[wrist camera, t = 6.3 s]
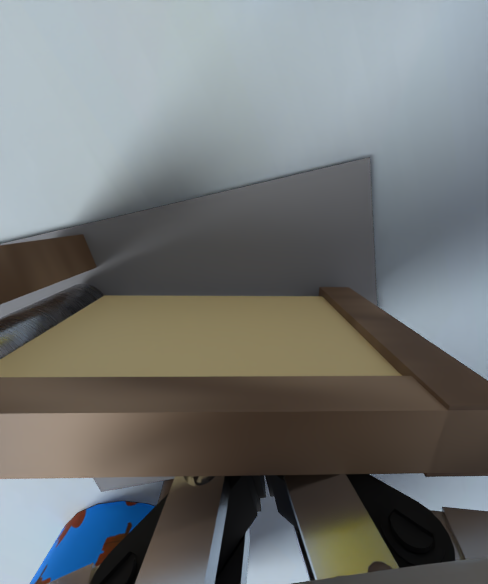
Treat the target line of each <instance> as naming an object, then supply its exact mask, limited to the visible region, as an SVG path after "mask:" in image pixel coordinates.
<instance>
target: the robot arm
mask: <svg viewBox="0 0 488 584" xmlns="http://www.w3.org/2000/svg"><path fill="white" fill-rule="evenodd" d="M265 477H266V480H267V484H268V488H269V492H270V496H274V497H275V501H276V505H277V509H278V512H279V513H280V514H281V515H282V516H283V517H285V518H286V519H287V520H288V521H289V522H290V523H291V524H292V525H293V528H294V532H295V535H296V538H297V542H298V545H299V548H300V552H301V555H302V558H303V562H304V565H305V568H306V572H307V575H308V578H309V581H306V582H299V583H293V584H488V511H478V510H468V509H458V508H448V507H442V512H440V511H431V510H429V509H427V508H426V507H424V506H423V505H421V504H420V503H419V502H417V501H415V500H413V499H412V498H410V497H408V496H406V495H405V494H403V493H401V492H399V491H398V490H396V489H394V488H392V487H390V486H389V485H387V484H385V483H383V482H382V481H380V480H378V479H376V478H374V477H373V476H371V475H369V474H325V475H265ZM265 497H266V492H265V481H264V475H251V476H177V477H175V478H174V481H173V483H172V486H171V489H170V491H169V493H168V494H167V495H166V496H165V497H164V498H163V499H162V500H161V501H160V502H159V503H158V504H157V505H156V506H155V507H154V508H153V509H152V510H151V511H150V512H149V513H148V514H147V515H146V516H145V517H144V518H143V519H142V520H141V521H140V522H139V523H138V524H137V525H136V526H135V527H134V529H133V530H132V531H131V532H130V533H129V534H128V535H127V536H126V537H125V538H124V539H123V540H122V541H121V542H120V543H119V544H118V545H117V546H116V547H115V548H114V549H113V550H112V551H111V552H110V553H109V554H108V555H107V557H106V558H105V559H104V560H103V561H102V563H101V564H100V565H98V566H95V565H94V563H91V564H89V565H87V566H85V567H82V568H80V569H78V570H76V571H73V572H71V573H69V574H67V575H65V576H62V577H60V578H58V579H56V580H53V581H51V582H49V583H47V584H246V583H247V570H248V558H249V546H250V525H251V524H252V522H253V521H254V519H255V518H256V516H257V512H259V511H261V504H260V498H265Z"/></svg>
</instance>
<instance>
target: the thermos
mask: <svg viewBox="0 0 488 584" xmlns="http://www.w3.org/2000/svg"><path fill="white" fill-rule="evenodd" d="M154 507H155V506H152V505H150V504H144V503H135V502H126V501H119V502H111V503H104V504H97V505H95V506H92V507H90V508H88V509H86V510H83V511H81V512H79V513H77V514H76V515H75V516H74V517H73V518H72V519H71V520H70V521H69V522H68V523H67V524H66V525H65V527H64V528H63V530H62V531H61V533H60V535H59V536H58V538H57V540H56V541H55V543H54V545H53V546H52V548H51V550H50V551H49V553H48V554H47V556H46V558H45V559H44V561H43V563H42V564H41V566H40V568H39V569H38V571H37V573H36V574H35V576H34V577H33V579H32V581H31V582H30V584H47V583H49V582H51V581H53V580H56V579H58V578H60V577H62V576H65V575H67V574H69V573H71V572H73V571H76V570H78V569H80V568H82V567H85V566H87V565H89V564H91V563H94V565H95V566H98V565H100V564H101V563H102V561H103V560H104V559H105V558H106V557H107V555H108V554H109V553H110V552H111V551H112V550H113V549H114V548H115V547H116V546H117V545H118V544H119V543H120V542H121V541H122V540H123V539H124V538H125V537H126V536H127V535H128V534H129V533H130V532H131V531H132V530H133V529H134V527H135V526H136V525H137V524H138V523H139V522H140V521H141V520H142V519H143V518H144V517H145V516H146V515H147V514H148V513H149V512H150V511H151V510H152V509H153V508H154Z"/></svg>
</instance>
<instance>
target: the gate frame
mask: <svg viewBox="0 0 488 584" xmlns="http://www.w3.org/2000/svg"><path fill="white" fill-rule="evenodd" d="M77 284H88V285H92V286H94V287H96V288H97V289H99V290H100V291H101V292H102V293H103V294H104V295H117V296H319V287H349V288H351V289H352V290H354V291H355V292H357V293H358V294H360V295H361V296H363V297H364V298H366V299H367V300H369V301H370V302H371V303H373V304H374V305H376V306H377V292H376V272H375V251H374V231H373V211H372V191H371V170H370V157H368V158H364V159H360V160H355V161H351V162H347V163H343V164H338V165H334V166H330V167H325V168H321V169H317V170H313V171H308V172H304V173H300V174H296V175H291V176H287V177H283V178H279V179H274V180H270V181H266V182H262V183H257V184H253V185H249V186H245V187H240V188H236V189H232V190H228V191H223V192H219V193H215V194H211V195H206V196H202V197H198V198H193V199H189V200H185V201H181V202H176V203H172V204H168V205H164V206H159V207H155V208H151V209H147V210H142V211H138V212H134V213H130V214H125V215H121V216H117V217H113V218H108V219H104V220H100V221H96V222H91V223H87V224H83V225H79V226H74V227H70V228H66V229H61V230H57V231H53V232H49V233H44V234H40V235H36V236H32V237H27V238H23V239H19V240H15V241H10V242H6V243H2V244H0V318H1V317H3V316H6V315H8V314H10V313H13V312H15V311H17V310H19V309H22V308H24V307H26V306H28V305H31V304H33V303H35V302H38V301H40V300H42V299H44V298H47V297H49V296H51V295H53V294H56V293H58V292H60V291H63V290H65V289H67V288H69V287H72V286H74V285H77ZM174 478H175V477H103V478H93V479H94V480H95V482H96V484H97V486H98V487H99V489H100V491H101V492H103V491H109V490H114V489H120V488H126V487H131V486H137V485H142V484H148V483H153V482H159V481H164V483H163V486H162V490H161V493H160V497H159V501H158V503H159V502H160V501H161V500H162V499H163V498H164V497H165V496H166V495H167V494H168V493H169V491H170V489H171V486H172V483H173V481H174Z"/></svg>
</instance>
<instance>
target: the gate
mask: <svg viewBox="0 0 488 584" xmlns="http://www.w3.org/2000/svg"><path fill="white" fill-rule="evenodd" d="M399 473H424V475H425V476H426V477H435V476H488V381H487V380H486V379H484V378H483V377H481V376H480V375H478V374H477V373H475V372H474V371H472V370H471V369H469V368H468V367H467V366H465V365H464V364H462V363H461V362H459V361H458V360H456V359H455V358H453V357H452V356H450V355H449V354H447V353H446V352H444V351H443V350H441V349H440V348H438V347H437V346H435V345H434V344H432V343H431V342H429V341H428V340H426V339H425V338H423V337H422V336H420V335H419V334H418V333H416V332H415V331H413V330H412V329H410V328H409V327H407V326H406V325H404V324H403V323H401V322H400V321H398V320H397V319H395V318H394V317H392V316H391V315H389V314H388V313H386V312H385V311H383V310H382V309H380V308H379V307H377V306H376V305H374V304H373V303H371V302H370V301H369V300H367V299H366V298H364V297H363V296H361V295H360V294H358V293H357V292H355V291H354V290H352V289H351V288H349V287H319V296H117V295H104V294H103V293H102V292H101V291H100V290H99V289H97V288H96V287H94V286H92V285H88V284H77V285H74V286H72V287H69V288H67V289H65V290H63V291H60V292H58V293H56V294H53V295H51V296H49V297H47V298H44V299H42V300H40V301H38V302H35V303H33V304H31V305H28V306H26V307H24V308H22V309H19V310H17V311H15V312H13V313H10V314H8V315H6V316H3V317H1V318H0V479H29V478H103V477H177V476H251V475H325V474H399Z"/></svg>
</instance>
